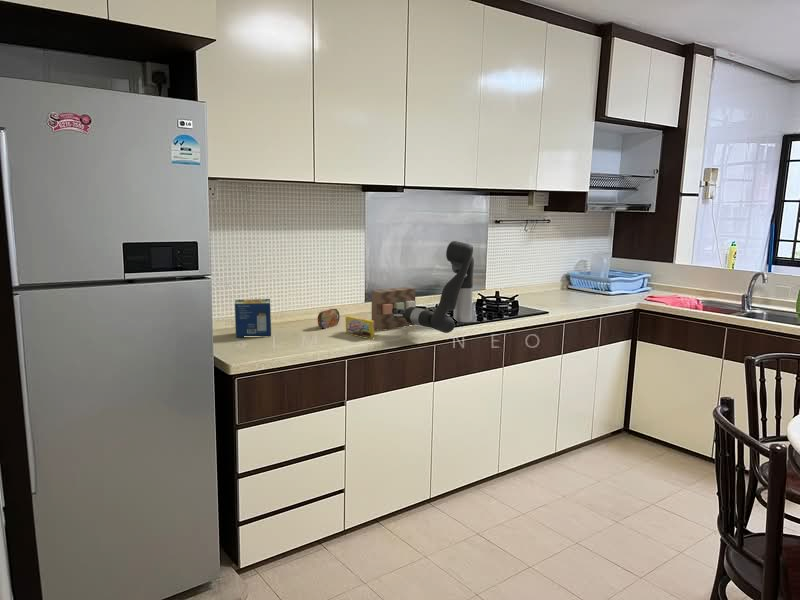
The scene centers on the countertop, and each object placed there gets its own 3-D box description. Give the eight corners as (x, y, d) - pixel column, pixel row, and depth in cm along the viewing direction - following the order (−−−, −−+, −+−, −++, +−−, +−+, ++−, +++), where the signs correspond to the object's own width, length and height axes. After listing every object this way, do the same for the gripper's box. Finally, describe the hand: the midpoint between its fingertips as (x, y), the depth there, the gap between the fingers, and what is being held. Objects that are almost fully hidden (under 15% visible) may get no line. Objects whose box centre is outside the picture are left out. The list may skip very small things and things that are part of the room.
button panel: (405, 322, 293) (406, 286, 290) (414, 325, 288) (415, 288, 285) (371, 328, 280) (371, 290, 277) (380, 330, 275) (380, 292, 272)
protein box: (236, 333, 268) (235, 299, 265) (271, 331, 271) (270, 298, 268) (235, 338, 258) (234, 303, 255) (271, 337, 261) (270, 302, 258)
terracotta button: (388, 312, 278) (388, 303, 277) (392, 313, 276) (392, 304, 275) (381, 313, 275) (381, 304, 275) (385, 314, 273) (385, 305, 272)
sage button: (400, 310, 282) (400, 301, 282) (404, 311, 280) (404, 302, 279) (393, 311, 280) (393, 302, 279) (397, 312, 277) (397, 303, 277)
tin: (321, 330, 275) (321, 312, 274) (316, 329, 277) (316, 311, 275) (340, 324, 288) (340, 307, 287) (335, 323, 290) (334, 306, 288)
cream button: (411, 309, 287) (411, 300, 286) (415, 310, 284) (415, 301, 283) (404, 310, 284) (404, 301, 283) (408, 311, 282) (408, 302, 281)
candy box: (345, 334, 268) (345, 316, 267) (348, 333, 270) (348, 315, 268) (371, 339, 258) (371, 321, 256) (374, 338, 259) (374, 320, 258)
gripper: (428, 306, 262) (404, 301, 275) (405, 309, 253) (381, 304, 267) (428, 323, 263) (404, 316, 276) (405, 326, 255) (381, 320, 268)
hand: (393, 310), depth 271 cm, fingers closed
